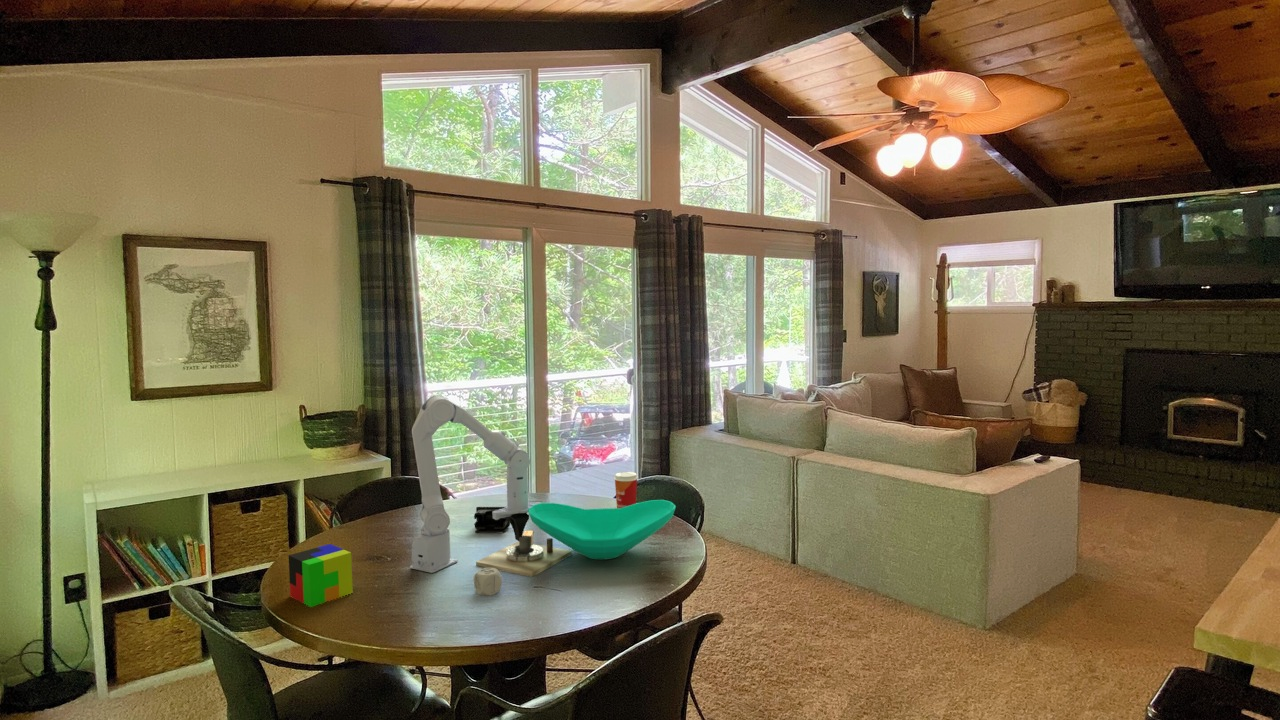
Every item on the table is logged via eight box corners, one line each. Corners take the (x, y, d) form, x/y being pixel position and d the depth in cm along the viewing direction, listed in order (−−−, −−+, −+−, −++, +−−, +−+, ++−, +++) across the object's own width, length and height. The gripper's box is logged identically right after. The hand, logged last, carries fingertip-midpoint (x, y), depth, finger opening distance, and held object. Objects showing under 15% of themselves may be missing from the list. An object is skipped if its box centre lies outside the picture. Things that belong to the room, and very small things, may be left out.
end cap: (511, 525, 218) (511, 504, 218) (506, 533, 211) (505, 510, 211) (479, 525, 218) (478, 504, 218) (473, 533, 211) (472, 510, 211)
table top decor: (671, 536, 206) (670, 491, 205) (682, 572, 178) (681, 520, 177) (533, 540, 203) (532, 495, 202) (523, 577, 176) (522, 525, 175)
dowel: (550, 553, 190) (550, 540, 190) (545, 552, 191) (545, 539, 191) (554, 551, 192) (553, 538, 191) (549, 550, 192) (548, 537, 192)
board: (532, 576, 176) (531, 553, 175) (476, 565, 184) (475, 542, 184) (572, 554, 192) (571, 532, 191) (518, 544, 200) (518, 523, 200)
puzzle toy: (331, 583, 173) (330, 543, 173) (352, 593, 167) (351, 552, 166) (290, 596, 166) (288, 555, 165) (310, 608, 159) (308, 564, 159)
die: (482, 597, 164) (481, 576, 163) (473, 591, 168) (473, 570, 167) (502, 592, 167) (501, 571, 166) (493, 586, 171) (492, 565, 170)
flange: (541, 561, 183) (541, 547, 183) (503, 561, 183) (502, 547, 183) (547, 543, 197) (546, 530, 197) (511, 544, 197) (511, 531, 197)
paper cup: (611, 515, 228) (611, 472, 226) (634, 513, 230) (633, 470, 229) (618, 522, 220) (617, 478, 219) (641, 519, 222) (641, 475, 221)
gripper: (500, 499, 186) (502, 549, 187) (548, 489, 195) (548, 538, 196) (488, 493, 191) (489, 542, 192) (534, 485, 200) (535, 532, 201)
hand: (518, 540), depth 194 cm, fingers closed
